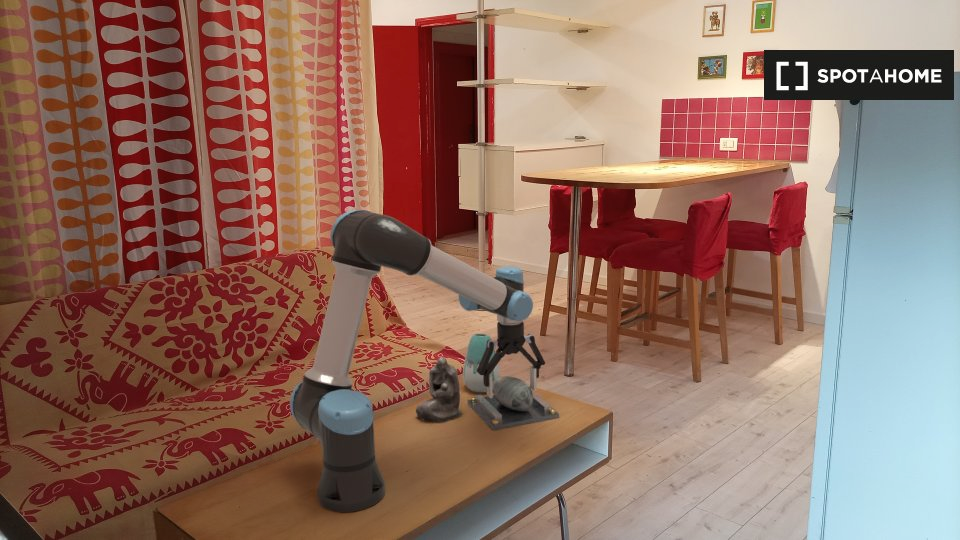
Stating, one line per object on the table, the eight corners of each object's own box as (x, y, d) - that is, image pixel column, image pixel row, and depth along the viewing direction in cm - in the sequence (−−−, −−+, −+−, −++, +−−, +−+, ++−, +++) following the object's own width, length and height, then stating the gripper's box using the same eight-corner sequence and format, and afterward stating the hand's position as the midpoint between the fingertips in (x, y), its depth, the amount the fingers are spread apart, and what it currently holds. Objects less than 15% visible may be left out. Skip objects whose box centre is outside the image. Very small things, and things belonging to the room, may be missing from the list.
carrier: (492, 430, 196) (492, 420, 195) (467, 403, 214) (467, 394, 213) (559, 417, 203) (559, 407, 202) (529, 392, 221) (529, 383, 220)
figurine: (416, 424, 201) (413, 363, 197) (415, 407, 212) (413, 349, 208) (463, 421, 202) (461, 360, 198) (460, 405, 213) (458, 347, 209)
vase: (484, 379, 233) (482, 325, 229) (508, 388, 224) (507, 333, 220) (455, 388, 226) (453, 333, 222) (479, 399, 217) (478, 342, 213)
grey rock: (545, 399, 204) (527, 371, 202) (521, 421, 200) (502, 392, 198) (522, 394, 216) (505, 368, 214) (499, 414, 213) (481, 388, 211)
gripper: (473, 331, 195) (475, 404, 199) (556, 319, 203) (556, 390, 208) (464, 323, 202) (466, 395, 206) (544, 312, 210) (545, 381, 215)
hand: (511, 392), depth 207 cm, fingers open, 13 cm apart
